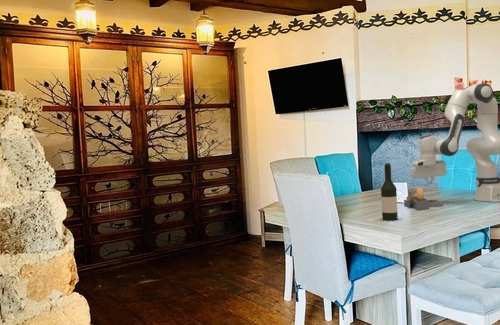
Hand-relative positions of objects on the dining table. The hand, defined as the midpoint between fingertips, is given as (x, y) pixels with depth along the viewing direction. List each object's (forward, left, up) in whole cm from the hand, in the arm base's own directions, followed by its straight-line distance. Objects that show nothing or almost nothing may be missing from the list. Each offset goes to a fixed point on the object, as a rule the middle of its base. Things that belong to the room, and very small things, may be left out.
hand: (430, 184), depth 267 cm
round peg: (+10, +12, -10) cm, 18 cm away
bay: (+5, +2, -13) cm, 14 cm away
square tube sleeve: (+10, +12, -13) cm, 20 cm away
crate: (+11, +2, -12) cm, 17 cm away
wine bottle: (+35, +35, -13) cm, 52 cm away
